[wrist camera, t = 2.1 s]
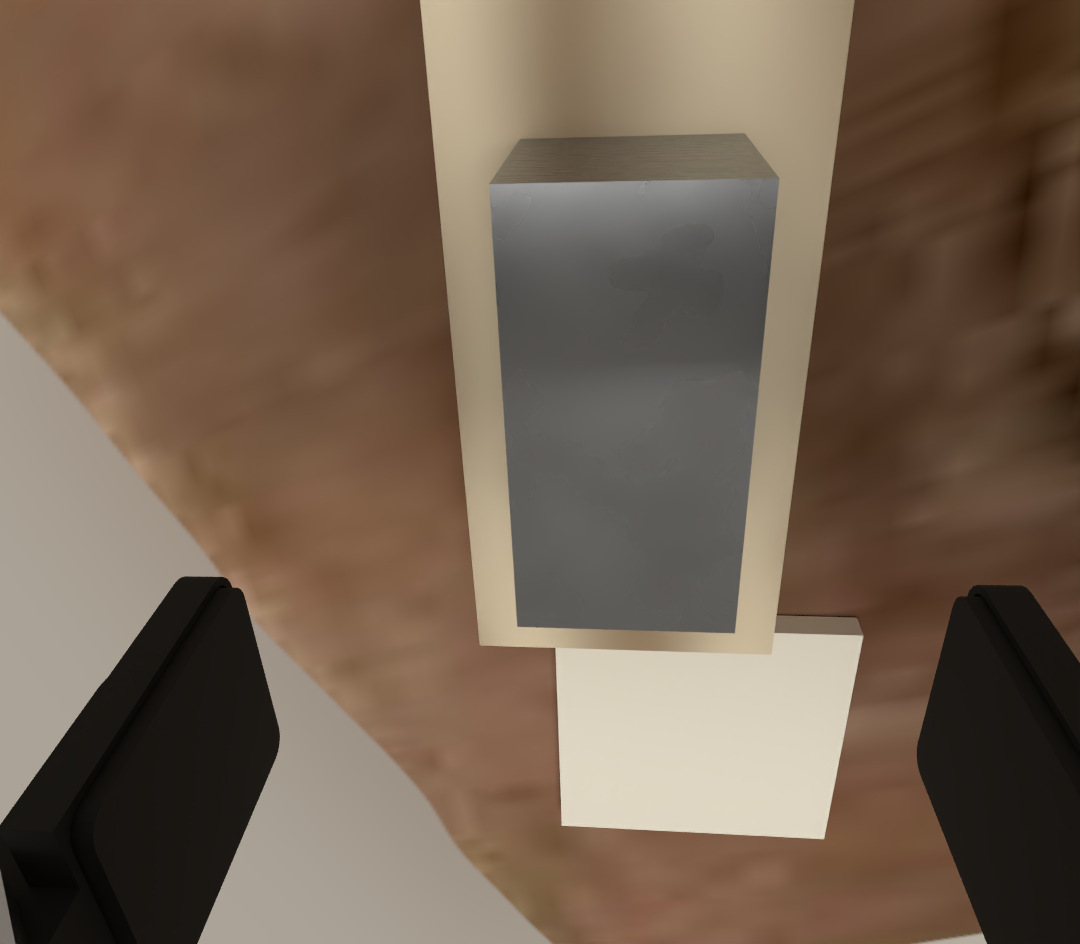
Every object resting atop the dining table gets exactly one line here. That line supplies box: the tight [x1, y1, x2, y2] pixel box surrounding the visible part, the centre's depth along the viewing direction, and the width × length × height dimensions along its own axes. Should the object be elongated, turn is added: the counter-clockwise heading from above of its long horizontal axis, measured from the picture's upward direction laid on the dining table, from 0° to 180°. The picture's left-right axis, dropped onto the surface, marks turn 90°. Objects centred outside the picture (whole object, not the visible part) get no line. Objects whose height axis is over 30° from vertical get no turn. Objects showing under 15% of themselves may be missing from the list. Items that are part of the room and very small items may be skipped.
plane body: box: [420, 0, 855, 655], centre depth 23 cm, size 9×22×5 cm, turn 2°
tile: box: [556, 615, 863, 839], centre depth 34 cm, size 11×11×1 cm
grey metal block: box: [489, 133, 779, 633], centre depth 19 cm, size 5×10×5 cm, turn 2°
